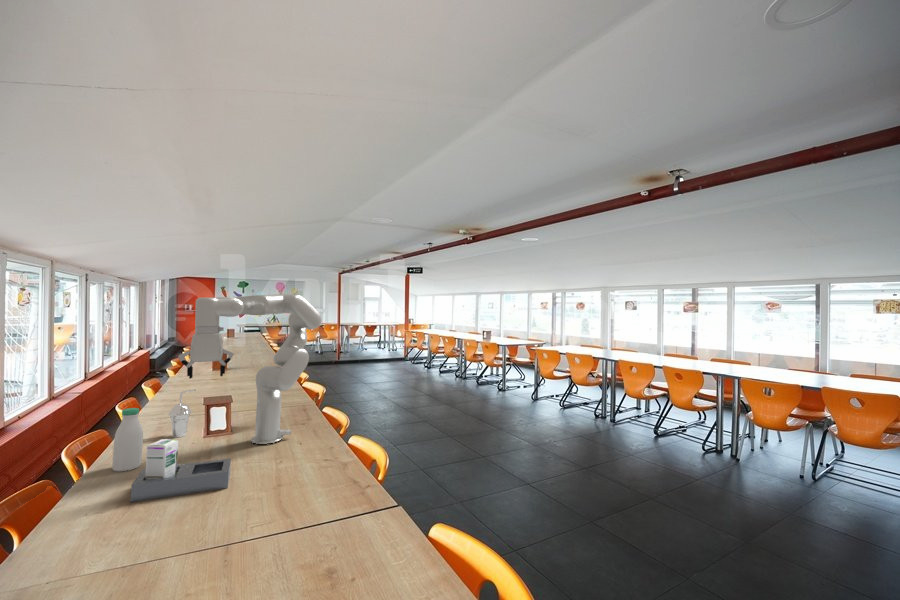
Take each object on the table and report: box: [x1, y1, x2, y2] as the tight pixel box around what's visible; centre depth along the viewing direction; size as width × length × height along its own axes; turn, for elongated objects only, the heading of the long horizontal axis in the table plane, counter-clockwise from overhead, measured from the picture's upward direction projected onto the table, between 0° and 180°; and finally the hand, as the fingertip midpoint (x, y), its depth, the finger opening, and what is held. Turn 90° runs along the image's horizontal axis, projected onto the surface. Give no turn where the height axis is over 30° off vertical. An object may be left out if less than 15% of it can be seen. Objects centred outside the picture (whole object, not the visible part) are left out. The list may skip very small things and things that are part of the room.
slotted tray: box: [130, 458, 232, 504], centre depth 119 cm, size 24×12×5 cm, turn 117°
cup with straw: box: [168, 388, 196, 439], centre depth 166 cm, size 8×9×20 cm
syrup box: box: [145, 438, 179, 480], centre depth 117 cm, size 6×6×14 cm
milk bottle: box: [111, 407, 144, 472], centre depth 132 cm, size 8×8×20 cm
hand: (206, 376), depth 142 cm, fingers open, 9 cm apart
